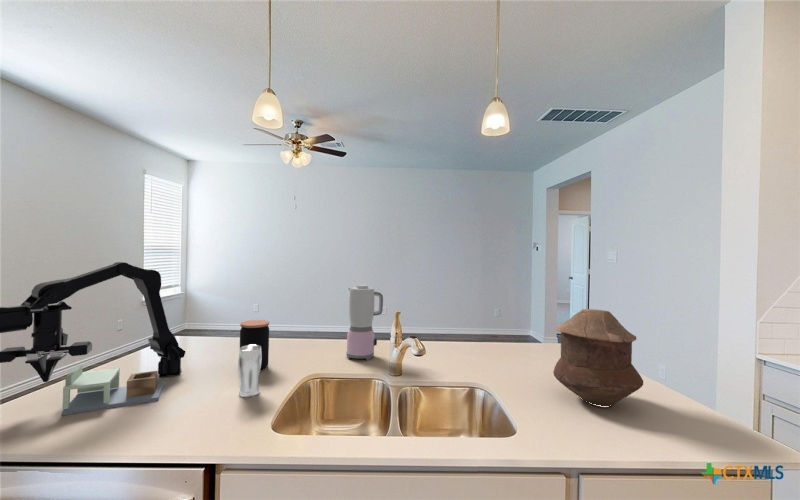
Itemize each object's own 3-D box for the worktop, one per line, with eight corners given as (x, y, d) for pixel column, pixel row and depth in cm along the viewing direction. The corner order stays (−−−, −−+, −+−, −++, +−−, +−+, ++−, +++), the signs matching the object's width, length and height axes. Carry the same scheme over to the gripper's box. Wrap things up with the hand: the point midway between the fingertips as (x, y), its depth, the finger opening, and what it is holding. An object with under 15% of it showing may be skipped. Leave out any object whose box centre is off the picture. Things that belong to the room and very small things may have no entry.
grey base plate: (163, 384, 119) (164, 372, 119) (158, 400, 106) (158, 387, 106) (78, 395, 108) (79, 383, 108) (61, 415, 96) (62, 400, 96)
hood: (119, 386, 113) (119, 359, 113) (108, 402, 101) (109, 373, 101) (78, 391, 108) (79, 364, 108) (62, 409, 96) (63, 378, 96)
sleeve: (157, 385, 115) (157, 370, 115) (154, 393, 109) (154, 377, 109) (130, 389, 112) (131, 373, 112) (126, 397, 105) (126, 381, 105)
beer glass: (265, 391, 115) (266, 346, 115) (249, 399, 109) (251, 351, 109) (248, 388, 118) (249, 343, 118) (232, 396, 111) (233, 349, 111)
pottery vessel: (593, 423, 99) (596, 318, 99) (535, 389, 123) (538, 304, 124) (663, 414, 106) (665, 316, 106) (595, 383, 130) (597, 303, 130)
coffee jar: (274, 366, 140) (275, 321, 140) (252, 374, 130) (254, 326, 130) (254, 362, 144) (256, 318, 144) (232, 370, 134) (234, 323, 134)
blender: (343, 360, 149) (345, 286, 149) (348, 352, 161) (350, 283, 161) (380, 362, 149) (382, 287, 149) (382, 353, 161) (384, 284, 161)
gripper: (97, 319, 111) (96, 368, 111) (15, 324, 102) (14, 377, 102) (87, 326, 101) (85, 380, 101) (-6, 332, 92) (-7, 391, 92)
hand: (46, 381), depth 99 cm, fingers closed
